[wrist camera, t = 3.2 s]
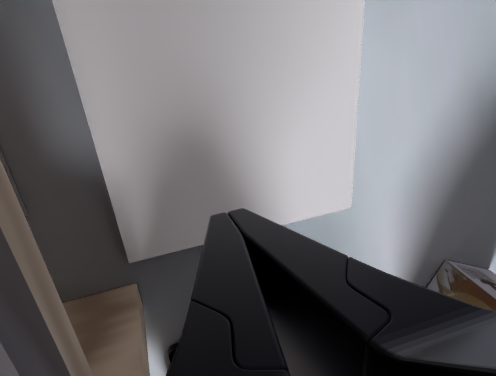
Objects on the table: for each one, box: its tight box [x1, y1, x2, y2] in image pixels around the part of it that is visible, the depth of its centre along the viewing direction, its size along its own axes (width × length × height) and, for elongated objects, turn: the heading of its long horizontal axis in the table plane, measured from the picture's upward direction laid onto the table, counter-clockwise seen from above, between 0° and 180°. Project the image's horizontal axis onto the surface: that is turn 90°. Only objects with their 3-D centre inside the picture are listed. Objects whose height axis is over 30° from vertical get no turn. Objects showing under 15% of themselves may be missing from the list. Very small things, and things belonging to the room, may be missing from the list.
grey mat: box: [52, 0, 365, 263], centre depth 18 cm, size 14×20×1 cm
